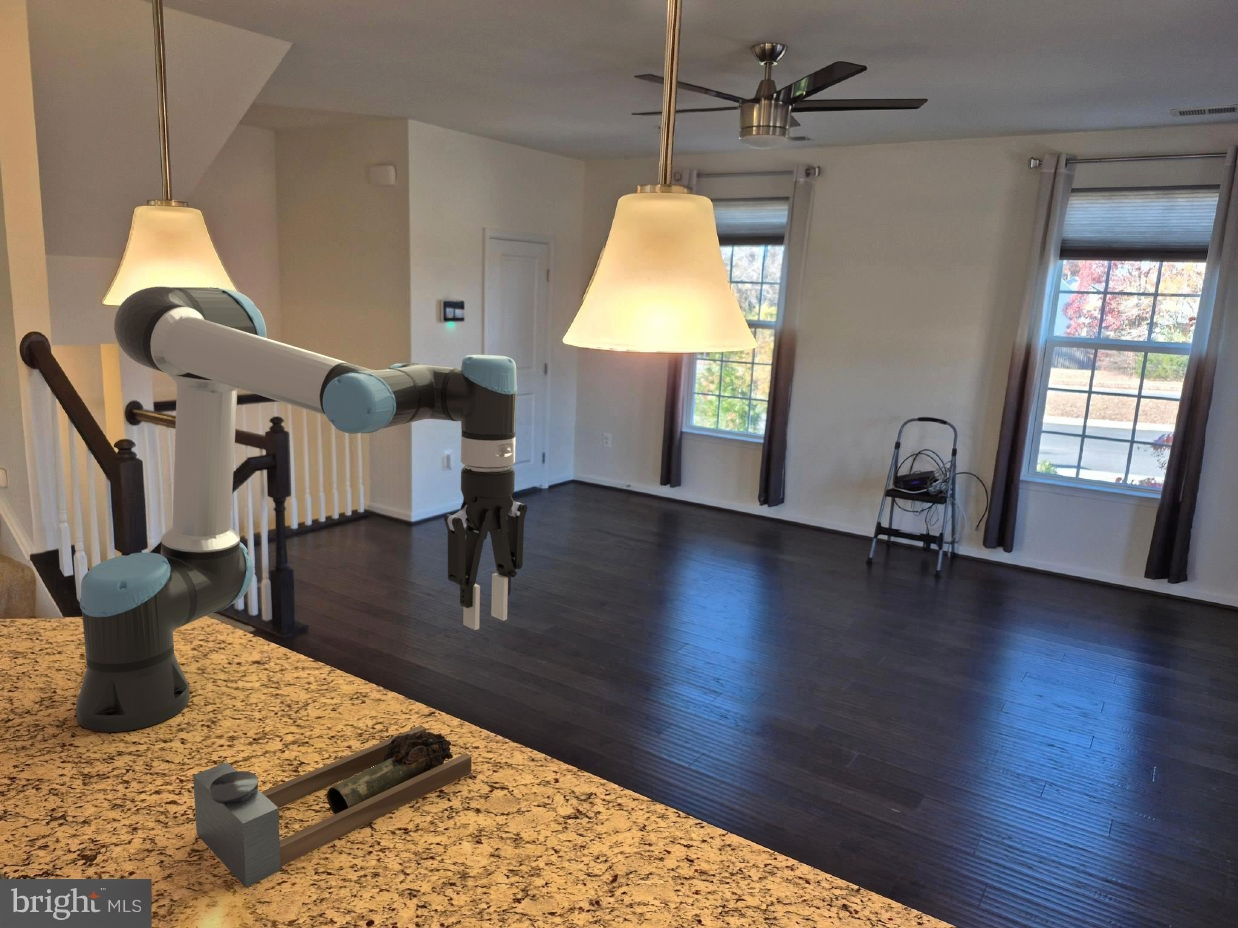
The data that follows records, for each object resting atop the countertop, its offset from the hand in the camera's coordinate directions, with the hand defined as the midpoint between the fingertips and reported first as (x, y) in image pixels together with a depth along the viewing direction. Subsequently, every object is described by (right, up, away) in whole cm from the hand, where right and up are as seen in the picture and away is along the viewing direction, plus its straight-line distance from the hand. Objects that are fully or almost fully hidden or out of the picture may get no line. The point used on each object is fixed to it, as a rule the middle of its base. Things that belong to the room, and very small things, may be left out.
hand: (485, 621), depth 121 cm
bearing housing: (-25, -23, -24) cm, 41 cm away
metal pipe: (-11, -21, -9) cm, 25 cm away
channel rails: (-15, -21, -12) cm, 28 cm away
